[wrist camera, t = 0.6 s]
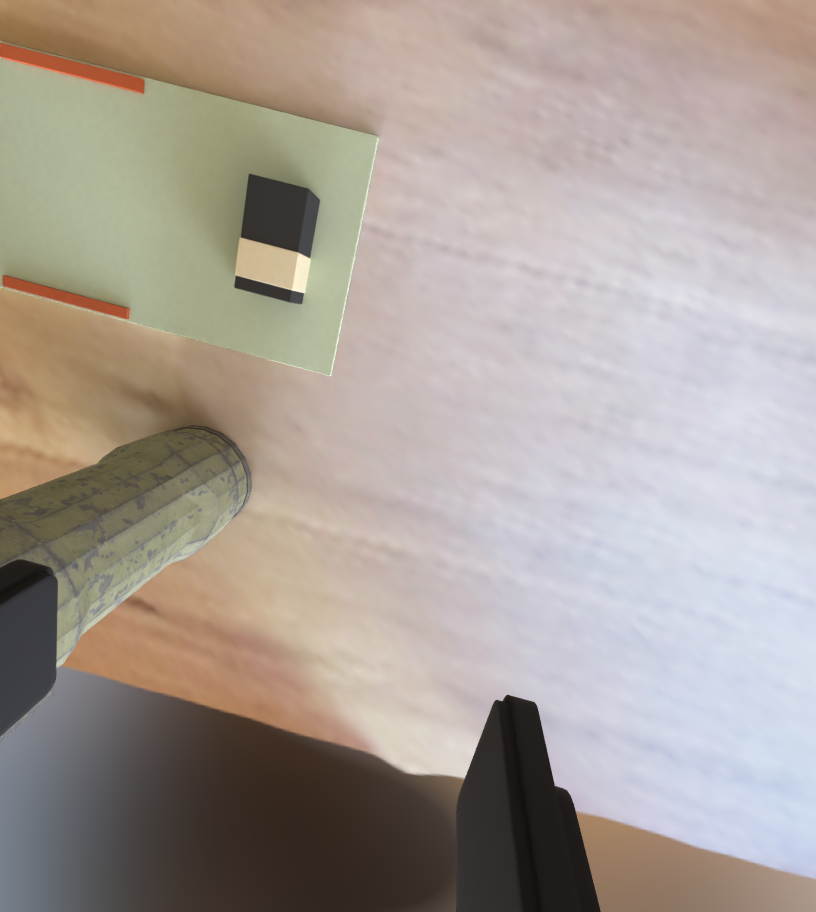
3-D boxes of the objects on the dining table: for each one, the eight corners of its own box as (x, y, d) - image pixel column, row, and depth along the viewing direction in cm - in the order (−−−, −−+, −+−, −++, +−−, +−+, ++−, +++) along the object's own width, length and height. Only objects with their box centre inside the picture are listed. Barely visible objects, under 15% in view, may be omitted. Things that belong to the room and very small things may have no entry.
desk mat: (-19, 37, 30) (-30, 31, 30) (379, 138, 30) (377, 133, 29) (-14, 282, 35) (-23, 282, 34) (331, 375, 34) (329, 376, 33)
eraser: (264, 185, 31) (247, 172, 28) (321, 199, 31) (309, 188, 28) (249, 290, 33) (232, 287, 30) (303, 305, 33) (290, 302, 30)
